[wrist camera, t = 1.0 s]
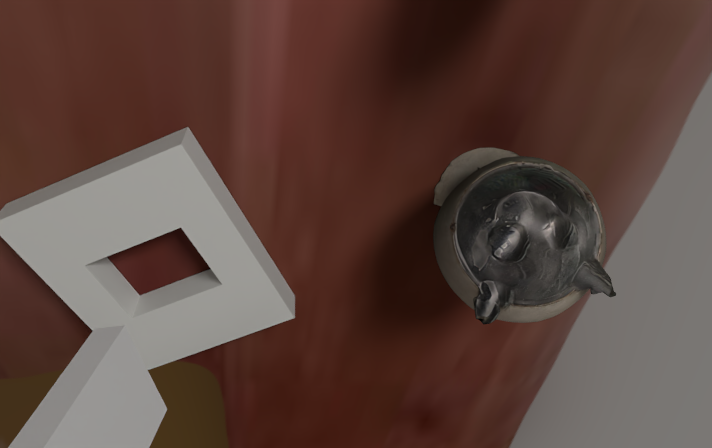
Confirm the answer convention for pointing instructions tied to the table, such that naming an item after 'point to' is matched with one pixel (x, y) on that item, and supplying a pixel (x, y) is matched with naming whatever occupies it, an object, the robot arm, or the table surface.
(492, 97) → the table surface
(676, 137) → the table surface
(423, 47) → the table surface
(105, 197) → the socket plate
